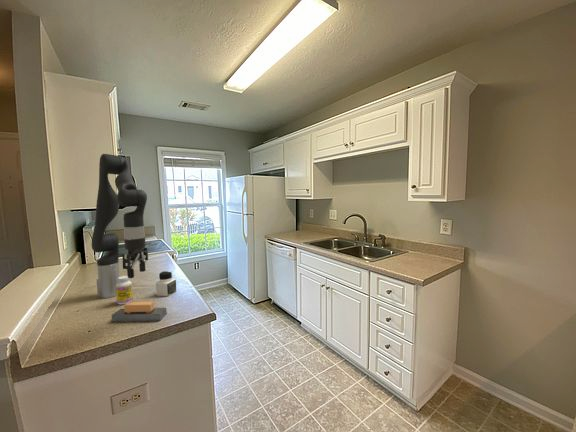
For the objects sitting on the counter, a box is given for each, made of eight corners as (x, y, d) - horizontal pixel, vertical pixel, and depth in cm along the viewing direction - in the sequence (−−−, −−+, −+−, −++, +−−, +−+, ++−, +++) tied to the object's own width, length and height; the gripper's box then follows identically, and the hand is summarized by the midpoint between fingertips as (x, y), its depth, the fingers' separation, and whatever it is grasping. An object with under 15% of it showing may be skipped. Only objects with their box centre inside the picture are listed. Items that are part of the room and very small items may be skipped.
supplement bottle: (116, 306, 120) (114, 280, 118) (118, 301, 125) (116, 276, 124) (132, 303, 123) (130, 277, 122) (133, 298, 128) (131, 274, 127)
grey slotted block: (112, 322, 104) (111, 315, 104) (121, 315, 110) (120, 308, 110) (160, 320, 105) (159, 314, 104) (166, 314, 111) (166, 307, 110)
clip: (125, 320, 106) (124, 305, 105) (129, 316, 109) (128, 302, 108) (151, 319, 106) (150, 304, 106) (154, 316, 109) (153, 301, 108)
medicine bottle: (168, 296, 130) (166, 274, 129) (156, 295, 132) (154, 273, 131) (176, 291, 137) (175, 270, 136) (165, 290, 139) (164, 269, 138)
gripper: (135, 234, 111) (137, 269, 113) (114, 240, 97) (117, 280, 99) (152, 234, 112) (154, 269, 113) (133, 240, 97) (136, 280, 99)
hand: (137, 274), depth 106 cm, fingers open, 8 cm apart
